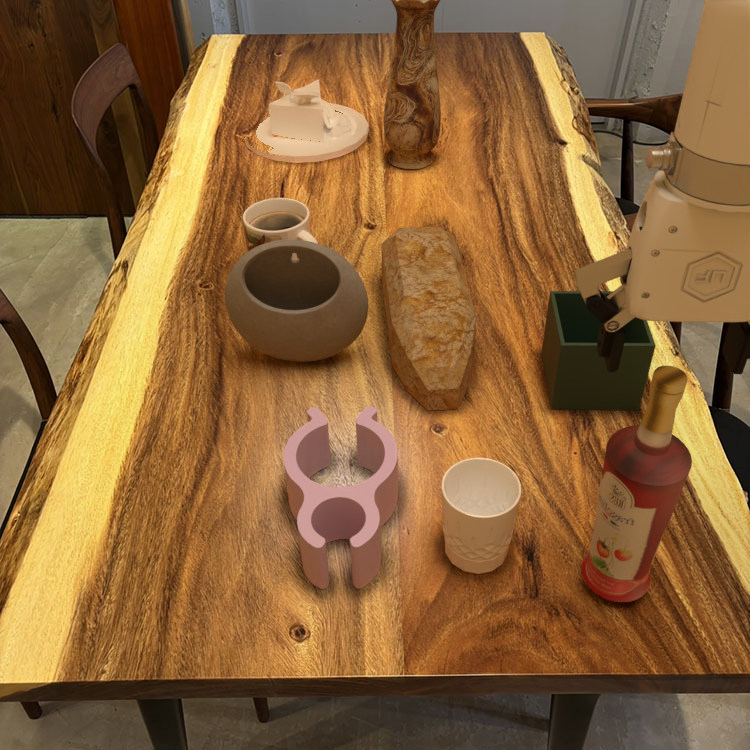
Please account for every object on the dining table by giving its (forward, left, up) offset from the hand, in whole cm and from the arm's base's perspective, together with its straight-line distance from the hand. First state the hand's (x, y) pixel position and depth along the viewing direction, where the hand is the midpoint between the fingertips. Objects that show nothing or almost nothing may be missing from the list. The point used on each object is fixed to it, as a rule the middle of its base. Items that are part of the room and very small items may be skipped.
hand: (670, 362), depth 67 cm
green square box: (+22, -22, -30) cm, 43 cm away
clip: (+25, +16, -30) cm, 42 cm away
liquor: (0, 0, -30) cm, 30 cm away
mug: (+67, -5, -30) cm, 73 cm away
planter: (+50, +4, -30) cm, 58 cm away
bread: (+45, -14, -30) cm, 56 cm away
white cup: (+12, +8, -30) cm, 33 cm away
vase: (+85, -46, -30) cm, 101 cm away
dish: (+107, -37, -30) cm, 117 cm away
